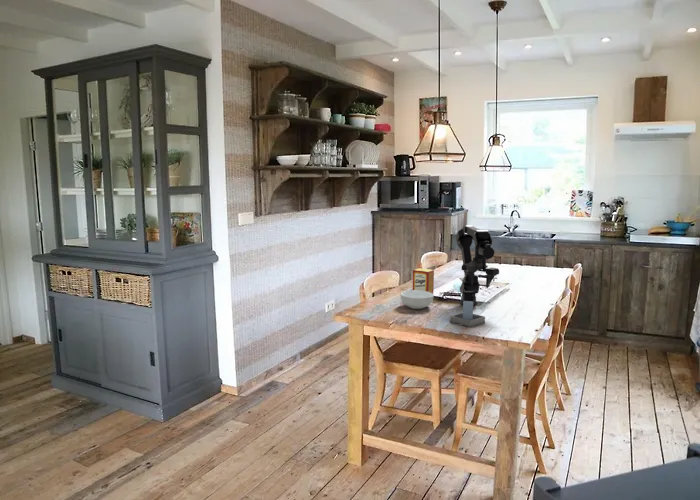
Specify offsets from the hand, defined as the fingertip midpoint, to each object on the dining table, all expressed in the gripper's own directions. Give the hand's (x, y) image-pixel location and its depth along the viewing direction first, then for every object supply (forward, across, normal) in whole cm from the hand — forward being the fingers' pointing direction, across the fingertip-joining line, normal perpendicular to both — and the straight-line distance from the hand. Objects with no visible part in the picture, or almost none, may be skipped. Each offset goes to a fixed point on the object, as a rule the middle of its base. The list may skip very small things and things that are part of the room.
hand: (479, 286), depth 263 cm
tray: (+13, +8, -20) cm, 25 cm away
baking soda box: (+13, -37, 0) cm, 39 cm away
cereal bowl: (+13, -26, -17) cm, 34 cm away
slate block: (+12, +8, -20) cm, 24 cm away
